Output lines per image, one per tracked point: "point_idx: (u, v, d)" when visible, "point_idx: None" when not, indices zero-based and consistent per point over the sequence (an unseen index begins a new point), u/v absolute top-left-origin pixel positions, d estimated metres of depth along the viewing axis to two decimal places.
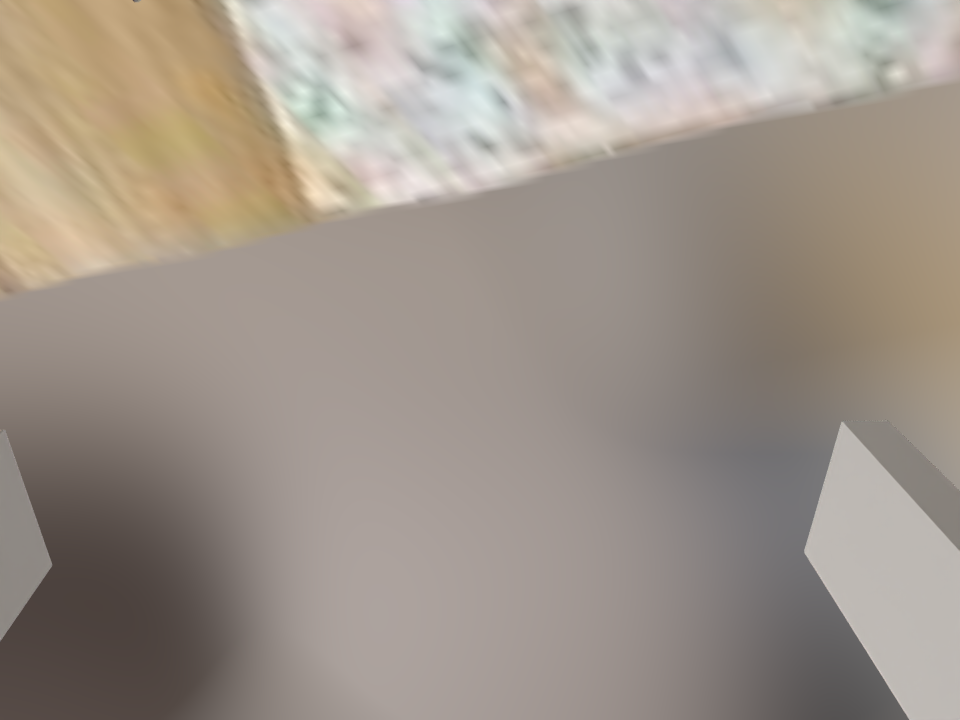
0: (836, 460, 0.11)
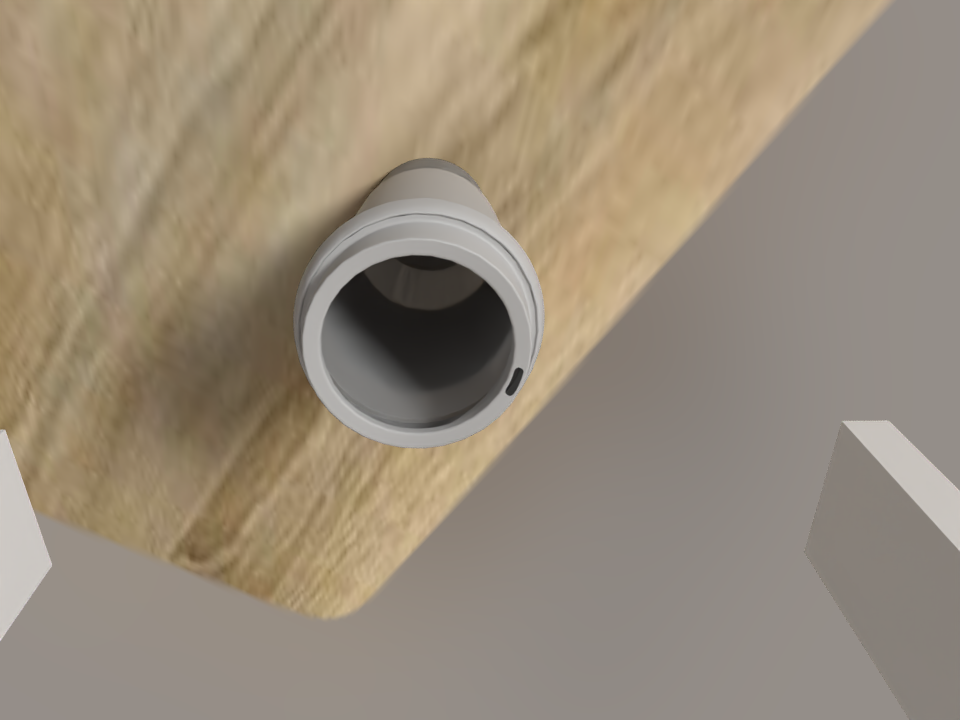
0: (836, 460, 0.11)
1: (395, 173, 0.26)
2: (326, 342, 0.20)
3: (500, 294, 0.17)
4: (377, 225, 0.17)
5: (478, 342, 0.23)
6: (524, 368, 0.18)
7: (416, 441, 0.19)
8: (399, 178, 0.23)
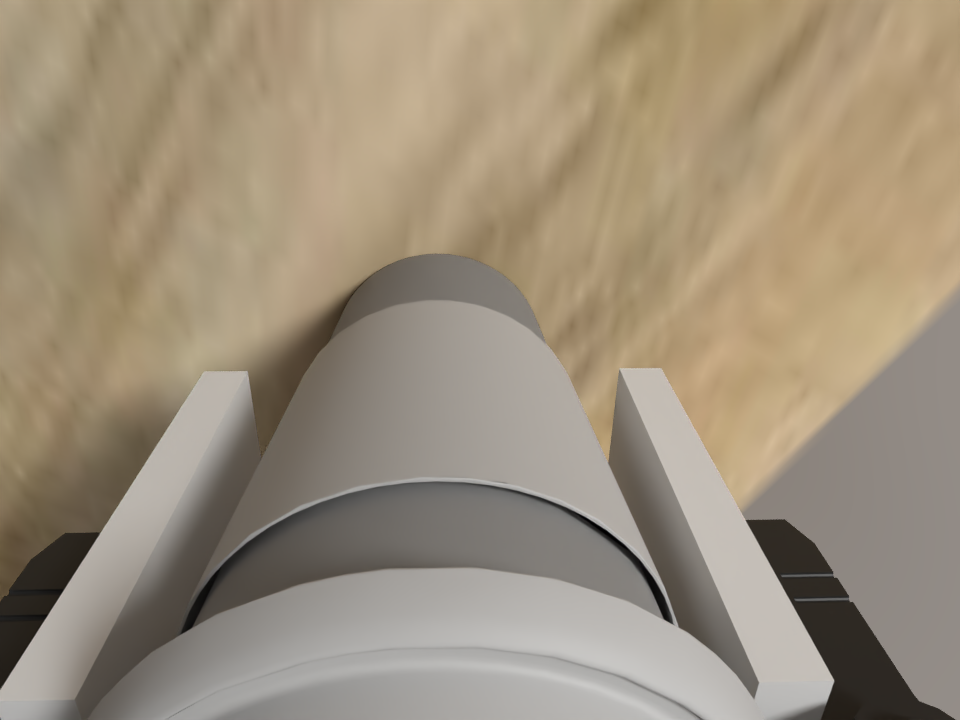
0: (617, 404, 0.13)
1: (371, 296, 0.14)
2: None
3: None
4: (260, 689, 0.05)
5: None
6: None
7: None
8: (371, 338, 0.11)
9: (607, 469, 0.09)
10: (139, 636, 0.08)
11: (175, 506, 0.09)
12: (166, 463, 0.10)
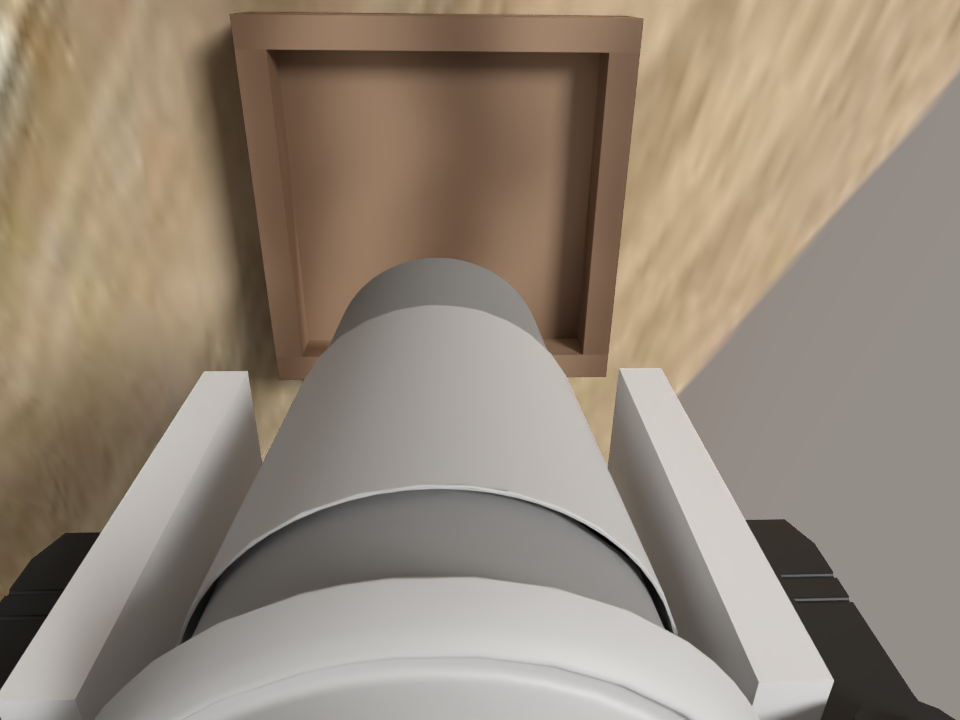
0: (617, 403, 0.13)
1: (371, 301, 0.14)
2: None
3: None
4: (261, 698, 0.05)
5: None
6: None
7: None
8: (371, 343, 0.11)
9: (607, 475, 0.09)
10: (139, 636, 0.08)
11: (175, 506, 0.09)
12: (166, 463, 0.10)
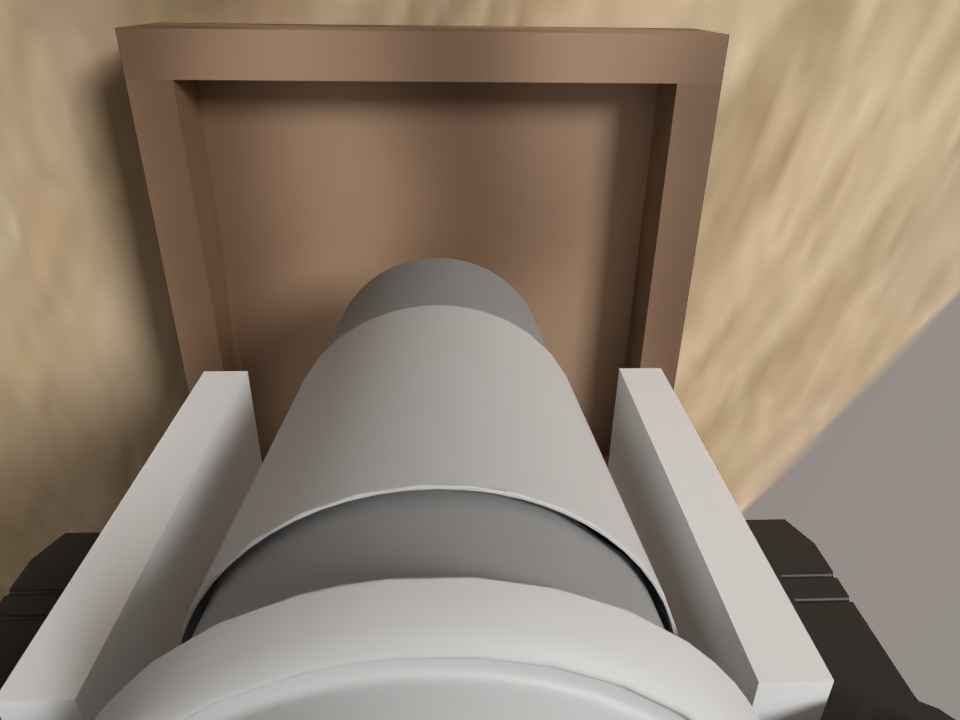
0: (617, 404, 0.13)
1: (371, 301, 0.14)
2: None
3: None
4: (261, 699, 0.05)
5: None
6: None
7: None
8: (371, 343, 0.11)
9: (607, 475, 0.09)
10: (137, 636, 0.08)
11: (175, 506, 0.09)
12: (166, 463, 0.10)
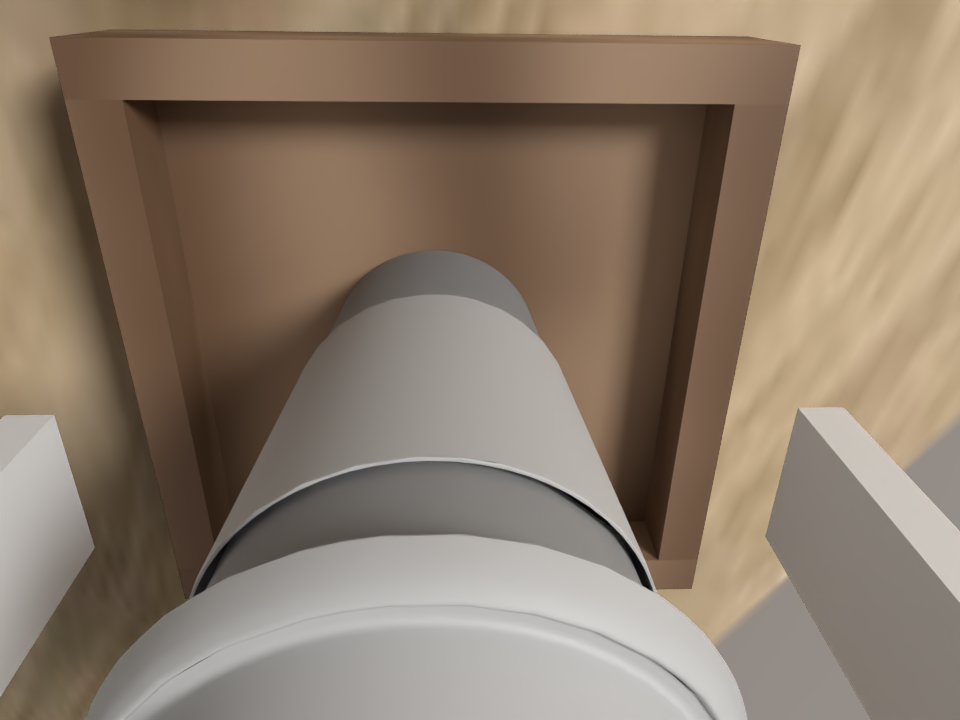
0: (793, 446, 0.12)
1: (369, 291, 0.14)
2: None
3: None
4: (265, 644, 0.05)
5: None
6: None
7: None
8: (369, 330, 0.11)
9: (594, 454, 0.10)
10: None
11: None
12: None
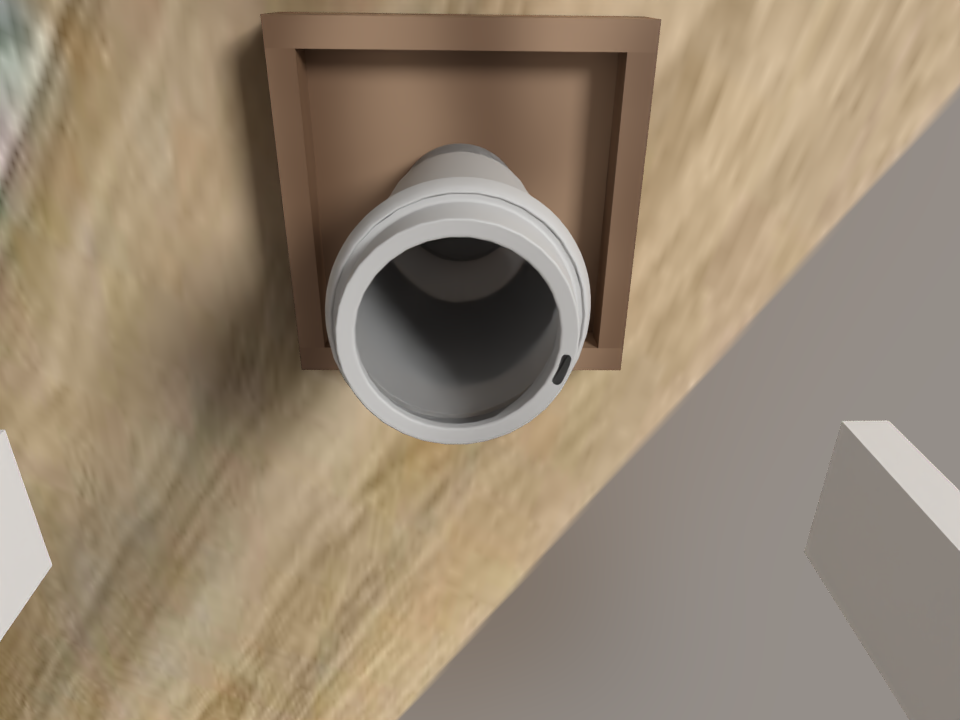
0: (836, 460, 0.11)
1: (424, 160, 0.25)
2: (359, 336, 0.19)
3: (544, 276, 0.16)
4: (410, 207, 0.16)
5: (518, 331, 0.22)
6: (572, 355, 0.17)
7: (458, 437, 0.18)
8: (429, 163, 0.22)
9: None
10: None
11: None
12: None
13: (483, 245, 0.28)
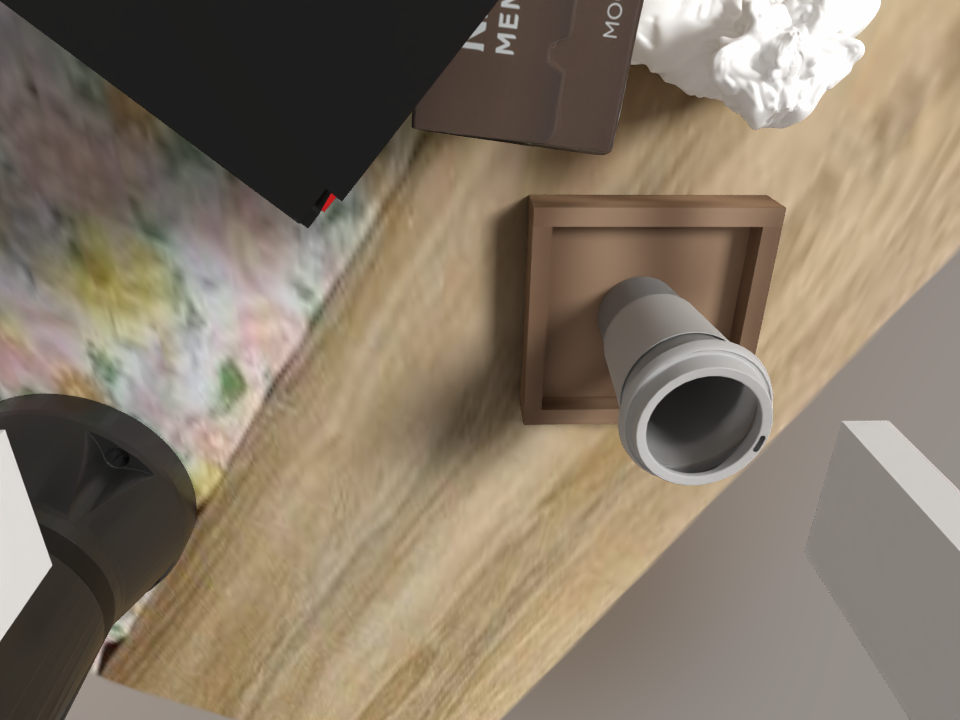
0: (836, 460, 0.11)
1: (627, 292, 0.38)
2: None
3: (757, 395, 0.30)
4: (683, 358, 0.30)
5: (704, 410, 0.35)
6: (766, 435, 0.31)
7: (694, 481, 0.32)
8: (648, 305, 0.35)
9: (725, 339, 0.34)
10: None
11: None
12: None
13: None
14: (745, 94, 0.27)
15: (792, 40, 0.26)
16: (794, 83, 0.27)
